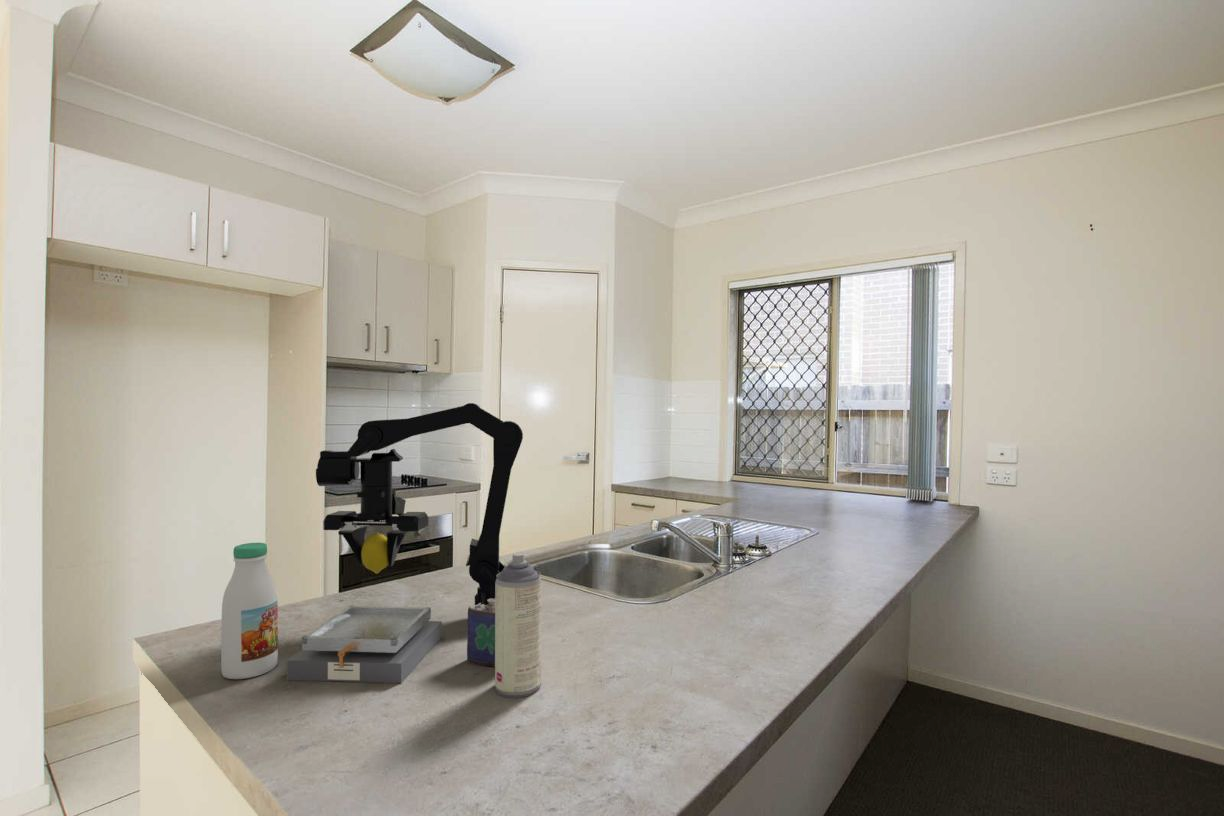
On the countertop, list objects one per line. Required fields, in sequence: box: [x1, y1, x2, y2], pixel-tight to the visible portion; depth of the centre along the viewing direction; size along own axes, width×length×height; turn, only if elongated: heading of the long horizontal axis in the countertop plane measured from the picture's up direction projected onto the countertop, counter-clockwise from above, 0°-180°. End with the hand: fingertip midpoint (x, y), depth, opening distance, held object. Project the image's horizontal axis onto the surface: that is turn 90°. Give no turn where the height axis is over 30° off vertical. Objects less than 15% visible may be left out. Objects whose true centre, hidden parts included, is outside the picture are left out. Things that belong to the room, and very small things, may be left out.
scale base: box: [286, 620, 443, 684], centre depth 100 cm, size 18×18×3 cm
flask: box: [466, 598, 495, 668], centre depth 98 cm, size 9×3×11 cm, turn 74°
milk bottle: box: [220, 542, 279, 680], centre depth 95 cm, size 8×8×20 cm
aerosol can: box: [494, 552, 542, 699], centre depth 90 cm, size 7×7×20 cm
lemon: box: [361, 532, 389, 574], centre depth 116 cm, size 6×6×8 cm
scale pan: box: [301, 605, 432, 668], centre depth 99 cm, size 15×17×4 cm
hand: (376, 565), depth 116 cm, fingers closed on lemon, 5 cm apart
